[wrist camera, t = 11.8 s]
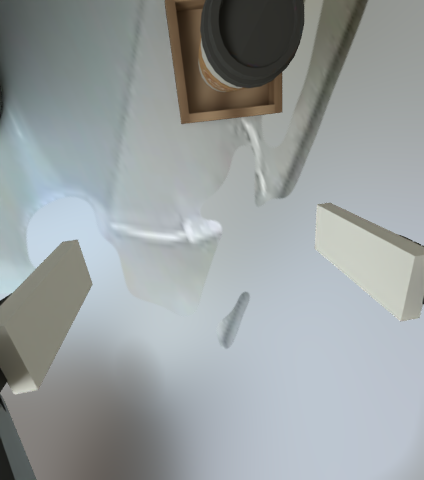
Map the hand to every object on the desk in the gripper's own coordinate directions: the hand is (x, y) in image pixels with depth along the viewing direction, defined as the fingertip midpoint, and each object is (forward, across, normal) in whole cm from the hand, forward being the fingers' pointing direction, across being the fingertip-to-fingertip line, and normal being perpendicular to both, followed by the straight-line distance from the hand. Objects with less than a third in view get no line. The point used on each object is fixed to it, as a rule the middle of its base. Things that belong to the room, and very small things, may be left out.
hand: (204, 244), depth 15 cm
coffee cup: (+26, +7, +13) cm, 30 cm away
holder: (+27, +7, +13) cm, 30 cm away
